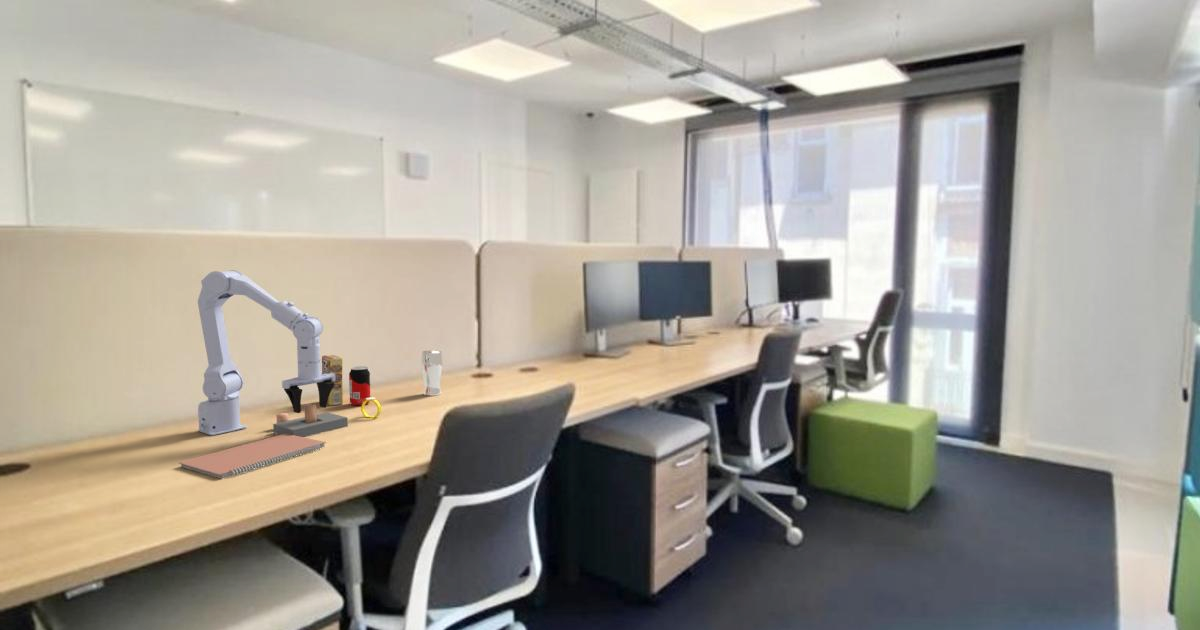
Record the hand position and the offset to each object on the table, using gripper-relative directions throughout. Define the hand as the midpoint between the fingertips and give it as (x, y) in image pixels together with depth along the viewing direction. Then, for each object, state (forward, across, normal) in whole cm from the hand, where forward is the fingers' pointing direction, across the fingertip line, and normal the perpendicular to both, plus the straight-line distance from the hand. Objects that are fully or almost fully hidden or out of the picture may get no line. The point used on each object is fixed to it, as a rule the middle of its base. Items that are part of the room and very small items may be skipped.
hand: (310, 409), depth 177 cm
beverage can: (+6, +26, +15) cm, 31 cm away
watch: (+6, +18, -2) cm, 19 cm away
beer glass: (+6, +50, +8) cm, 51 cm away
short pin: (+6, -4, +7) cm, 10 cm away
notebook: (+6, -21, -12) cm, 25 cm away
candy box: (+6, +22, +24) cm, 33 cm away
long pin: (+6, 0, 0) cm, 6 cm away
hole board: (+6, 0, 0) cm, 6 cm away
